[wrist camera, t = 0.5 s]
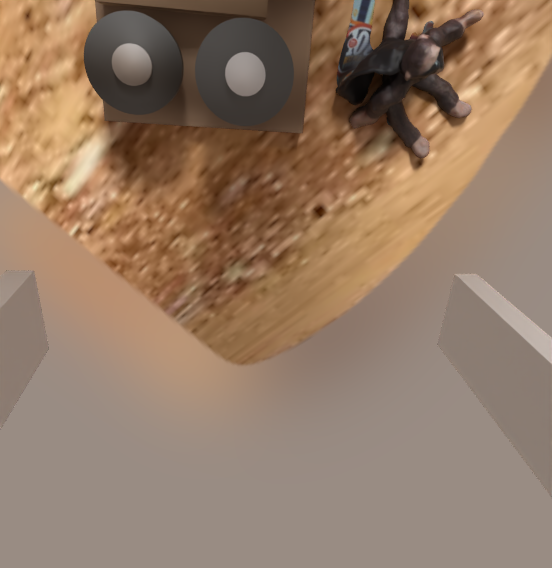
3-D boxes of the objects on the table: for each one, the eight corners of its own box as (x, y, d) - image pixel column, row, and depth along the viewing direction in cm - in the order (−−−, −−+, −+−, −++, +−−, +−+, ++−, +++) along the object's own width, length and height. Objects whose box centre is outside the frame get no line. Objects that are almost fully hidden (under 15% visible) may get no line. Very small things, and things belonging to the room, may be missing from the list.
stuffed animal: (386, 184, 39) (347, 83, 29) (333, 117, 44) (284, 11, 34) (513, 100, 37) (518, -41, 27) (442, 39, 42) (424, -99, 32)
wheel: (196, 16, 28) (194, 11, 26) (293, 25, 29) (299, 21, 27) (196, 119, 31) (194, 124, 28) (285, 125, 32) (290, 130, 29)
